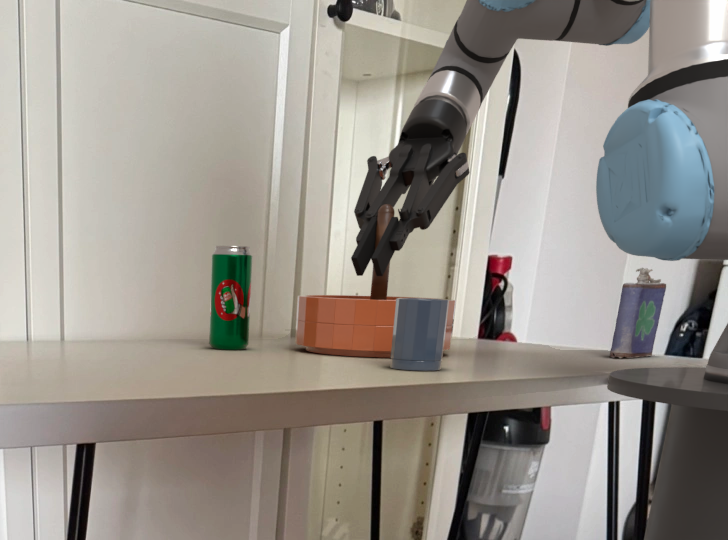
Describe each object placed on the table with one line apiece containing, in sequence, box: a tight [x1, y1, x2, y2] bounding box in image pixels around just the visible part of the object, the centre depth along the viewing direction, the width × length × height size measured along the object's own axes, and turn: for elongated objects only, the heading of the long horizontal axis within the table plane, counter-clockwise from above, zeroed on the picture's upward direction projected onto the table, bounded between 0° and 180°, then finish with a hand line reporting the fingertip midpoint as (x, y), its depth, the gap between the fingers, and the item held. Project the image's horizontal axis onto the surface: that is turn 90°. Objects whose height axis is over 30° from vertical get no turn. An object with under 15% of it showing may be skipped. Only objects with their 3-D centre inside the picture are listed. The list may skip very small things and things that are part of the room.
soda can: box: [208, 245, 253, 351], centre depth 130 cm, size 5×5×12 cm
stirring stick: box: [369, 204, 395, 300], centre depth 125 cm, size 2×2×14 cm
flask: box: [609, 267, 667, 359], centre depth 133 cm, size 9×3×11 cm, turn 132°
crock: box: [389, 297, 449, 372], centre depth 110 cm, size 5×6×7 cm
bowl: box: [294, 294, 457, 359], centre depth 131 cm, size 20×20×6 cm
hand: (366, 266), depth 122 cm, fingers closed on stirring stick, 2 cm apart
